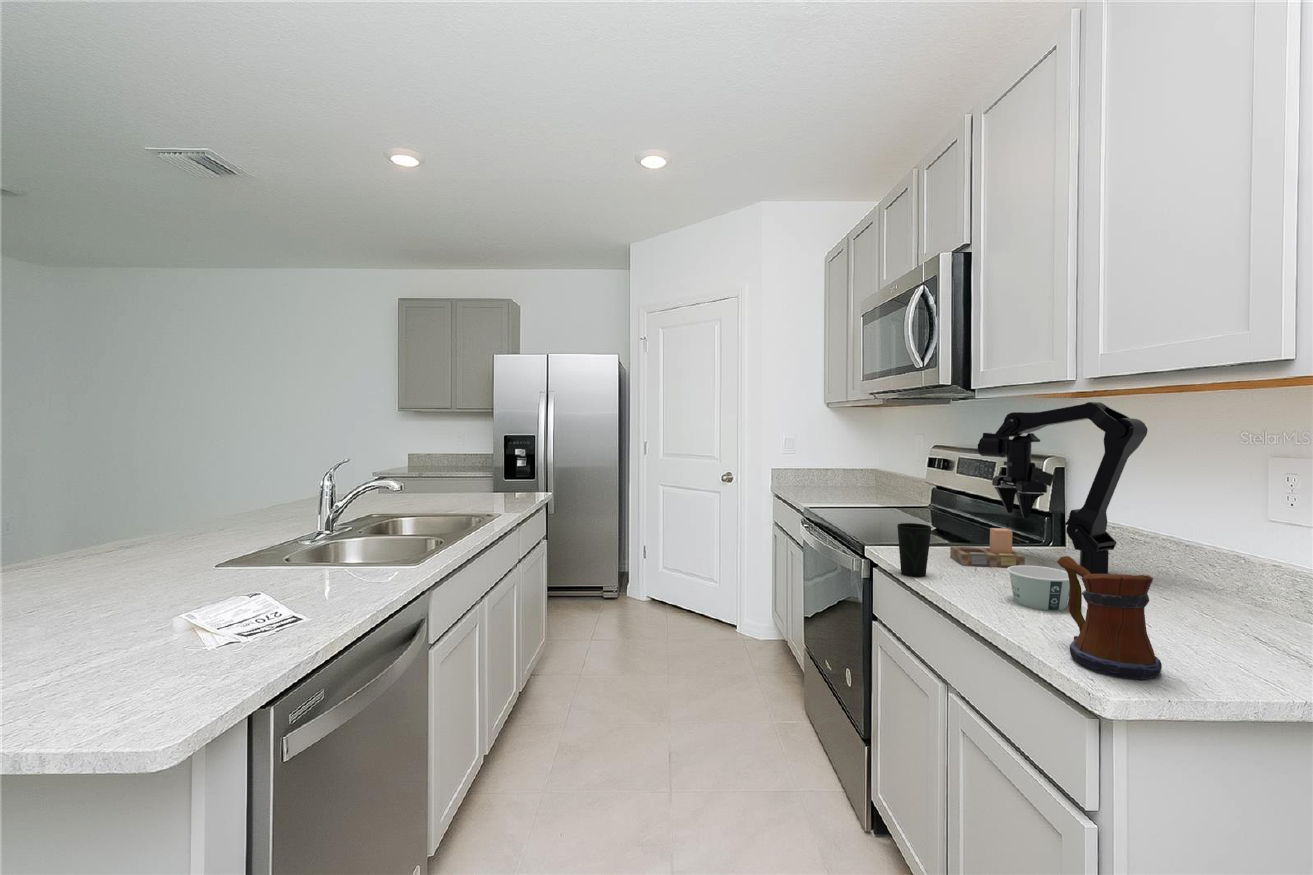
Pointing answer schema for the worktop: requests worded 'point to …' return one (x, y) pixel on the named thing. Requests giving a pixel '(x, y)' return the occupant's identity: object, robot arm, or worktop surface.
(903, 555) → the cup
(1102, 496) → the robot arm
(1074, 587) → the mug
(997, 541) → the tan rectangular block
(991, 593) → the worktop surface
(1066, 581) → the food container
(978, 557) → the socket block
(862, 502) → the worktop surface
